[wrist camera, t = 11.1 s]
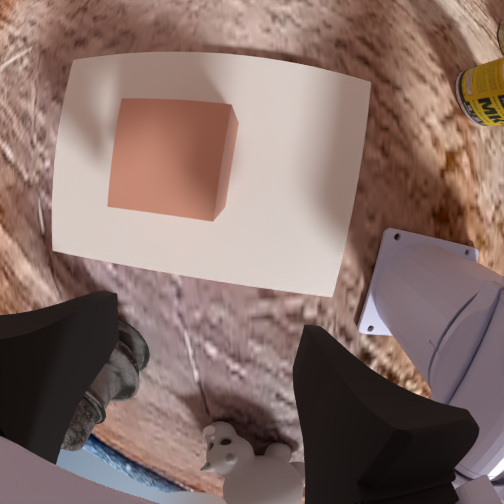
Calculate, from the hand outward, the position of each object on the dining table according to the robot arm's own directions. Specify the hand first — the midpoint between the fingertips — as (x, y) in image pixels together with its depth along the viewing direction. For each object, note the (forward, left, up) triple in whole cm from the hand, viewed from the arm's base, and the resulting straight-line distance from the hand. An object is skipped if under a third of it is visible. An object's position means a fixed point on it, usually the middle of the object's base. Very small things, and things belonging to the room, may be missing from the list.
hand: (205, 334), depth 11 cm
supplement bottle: (-17, -16, -10) cm, 25 cm away
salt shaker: (+8, +9, -10) cm, 15 cm away
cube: (+3, -6, -8) cm, 10 cm away
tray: (+3, -6, -9) cm, 12 cm away
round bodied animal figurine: (-5, +18, -10) cm, 21 cm away
